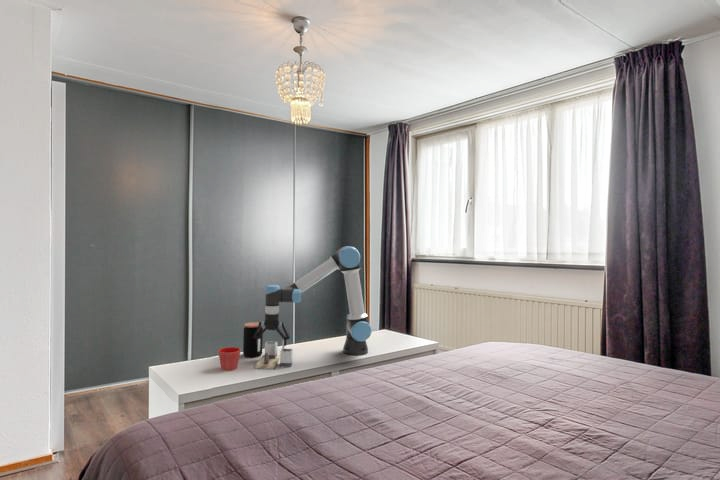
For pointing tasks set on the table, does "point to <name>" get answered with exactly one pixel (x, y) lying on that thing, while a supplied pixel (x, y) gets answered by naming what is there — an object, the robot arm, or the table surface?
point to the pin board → (271, 364)
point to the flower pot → (229, 358)
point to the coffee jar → (251, 340)
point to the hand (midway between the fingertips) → (271, 351)
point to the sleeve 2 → (286, 357)
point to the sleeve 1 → (271, 349)
